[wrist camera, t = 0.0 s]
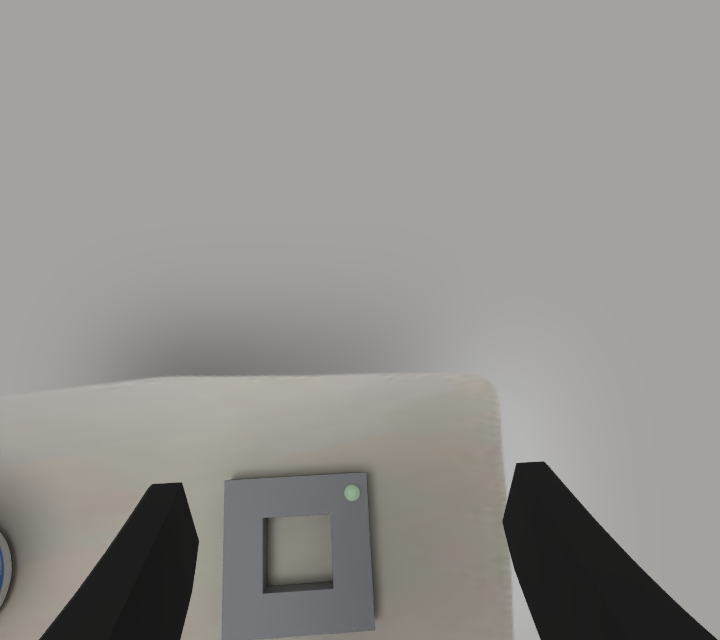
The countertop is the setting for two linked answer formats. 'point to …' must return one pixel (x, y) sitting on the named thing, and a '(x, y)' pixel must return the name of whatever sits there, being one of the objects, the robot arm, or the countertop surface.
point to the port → (297, 601)
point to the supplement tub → (4, 568)
